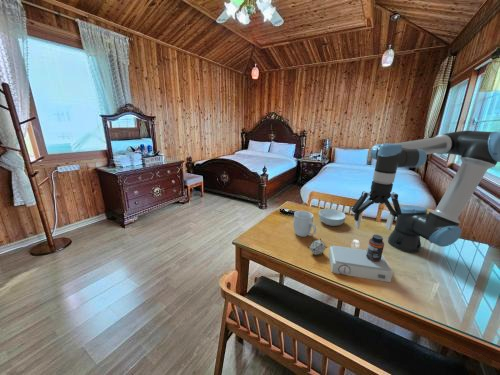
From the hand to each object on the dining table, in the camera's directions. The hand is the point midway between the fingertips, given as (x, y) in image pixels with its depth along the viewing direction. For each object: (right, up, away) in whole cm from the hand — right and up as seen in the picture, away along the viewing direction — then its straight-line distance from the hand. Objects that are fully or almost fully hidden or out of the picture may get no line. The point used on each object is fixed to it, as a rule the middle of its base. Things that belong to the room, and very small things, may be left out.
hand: (372, 227), depth 96 cm
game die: (-20, -17, +16) cm, 30 cm away
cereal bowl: (0, -6, +50) cm, 50 cm away
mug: (-22, -11, +34) cm, 42 cm away
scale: (-4, -20, +7) cm, 21 cm away
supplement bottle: (+2, -15, +4) cm, 15 cm away
